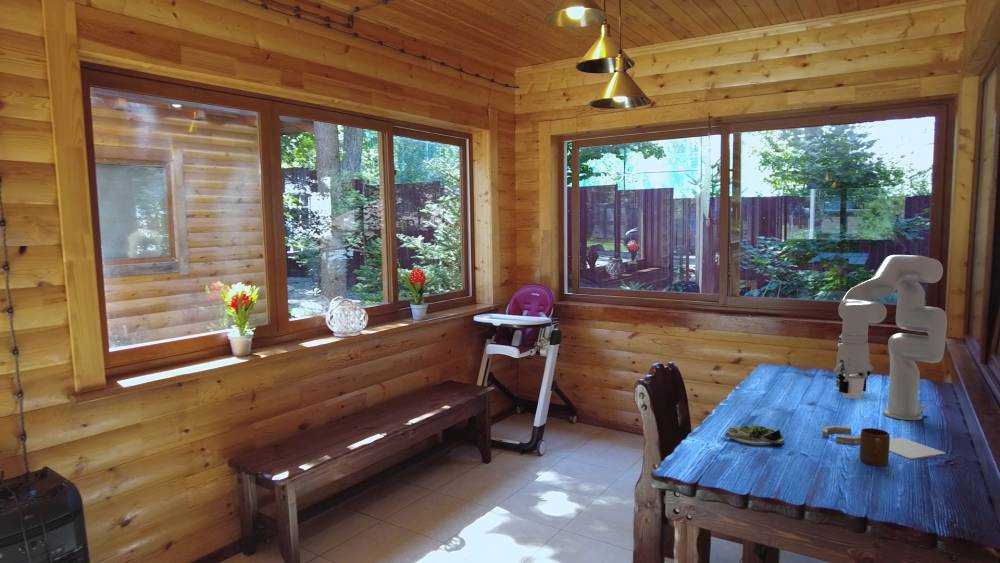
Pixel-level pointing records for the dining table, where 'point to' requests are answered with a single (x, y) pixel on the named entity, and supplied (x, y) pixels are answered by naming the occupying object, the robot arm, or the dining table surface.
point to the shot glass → (855, 386)
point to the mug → (874, 446)
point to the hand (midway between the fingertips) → (852, 391)
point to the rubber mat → (911, 449)
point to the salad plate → (755, 435)
